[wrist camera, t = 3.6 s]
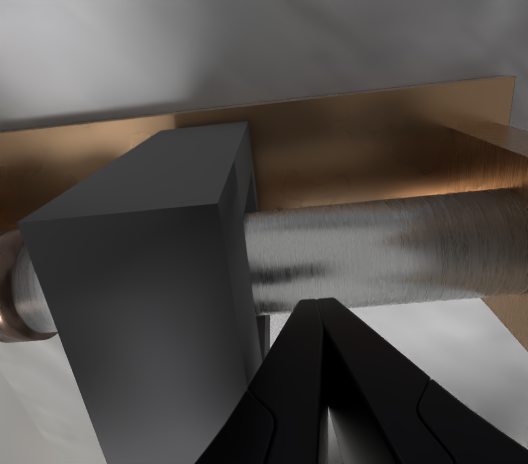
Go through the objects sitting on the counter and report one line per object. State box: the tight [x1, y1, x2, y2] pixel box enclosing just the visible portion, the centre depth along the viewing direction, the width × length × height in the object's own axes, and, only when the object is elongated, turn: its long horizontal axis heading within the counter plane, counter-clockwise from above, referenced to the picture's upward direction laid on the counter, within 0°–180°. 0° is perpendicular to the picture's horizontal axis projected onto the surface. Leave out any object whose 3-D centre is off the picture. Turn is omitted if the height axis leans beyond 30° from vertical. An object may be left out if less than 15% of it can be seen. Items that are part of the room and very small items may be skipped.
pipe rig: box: [0, 76, 528, 351], centre depth 13 cm, size 22×8×7 cm, turn 96°
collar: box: [17, 121, 270, 464], centre depth 11 cm, size 3×7×8 cm, turn 6°
